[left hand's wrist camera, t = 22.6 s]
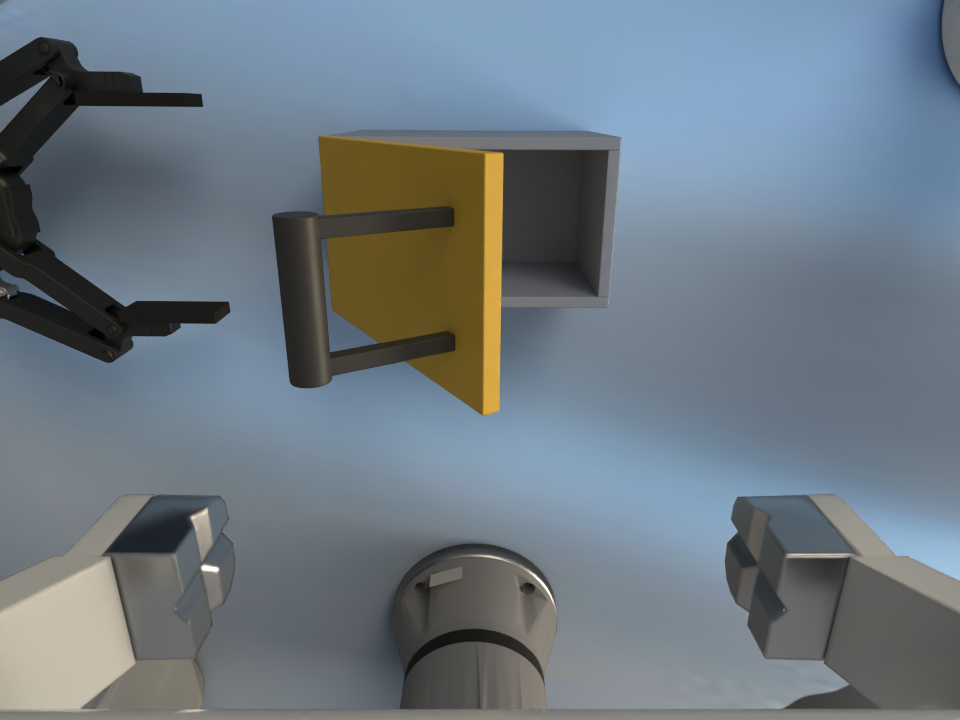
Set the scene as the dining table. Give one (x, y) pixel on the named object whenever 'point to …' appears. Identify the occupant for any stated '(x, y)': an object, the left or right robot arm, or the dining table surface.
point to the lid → (399, 265)
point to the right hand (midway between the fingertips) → (209, 212)
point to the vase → (154, 687)
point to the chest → (546, 210)
